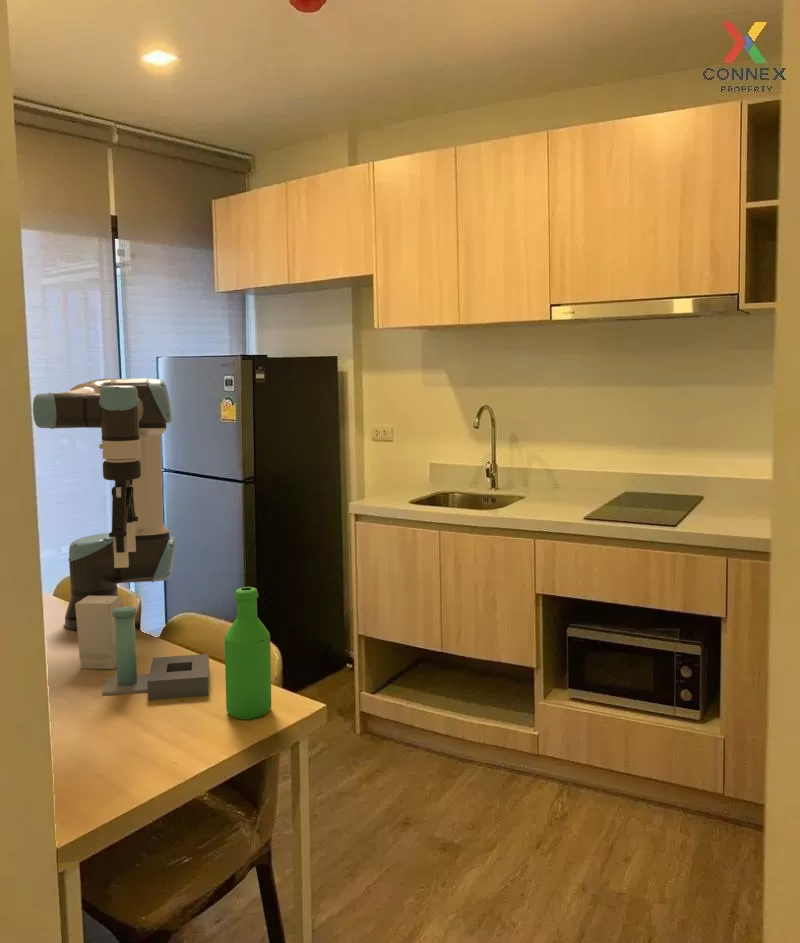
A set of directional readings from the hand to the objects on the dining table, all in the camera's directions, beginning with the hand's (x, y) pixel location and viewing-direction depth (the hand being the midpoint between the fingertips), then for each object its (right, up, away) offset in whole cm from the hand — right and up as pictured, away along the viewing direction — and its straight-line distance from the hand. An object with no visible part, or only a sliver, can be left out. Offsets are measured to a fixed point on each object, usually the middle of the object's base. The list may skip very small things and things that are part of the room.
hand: (125, 559), depth 173 cm
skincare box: (-10, -26, +14) cm, 31 cm away
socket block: (+11, -27, +2) cm, 29 cm away
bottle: (+28, -29, -11) cm, 42 cm away
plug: (0, -27, +2) cm, 27 cm away
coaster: (0, -27, +2) cm, 27 cm away
